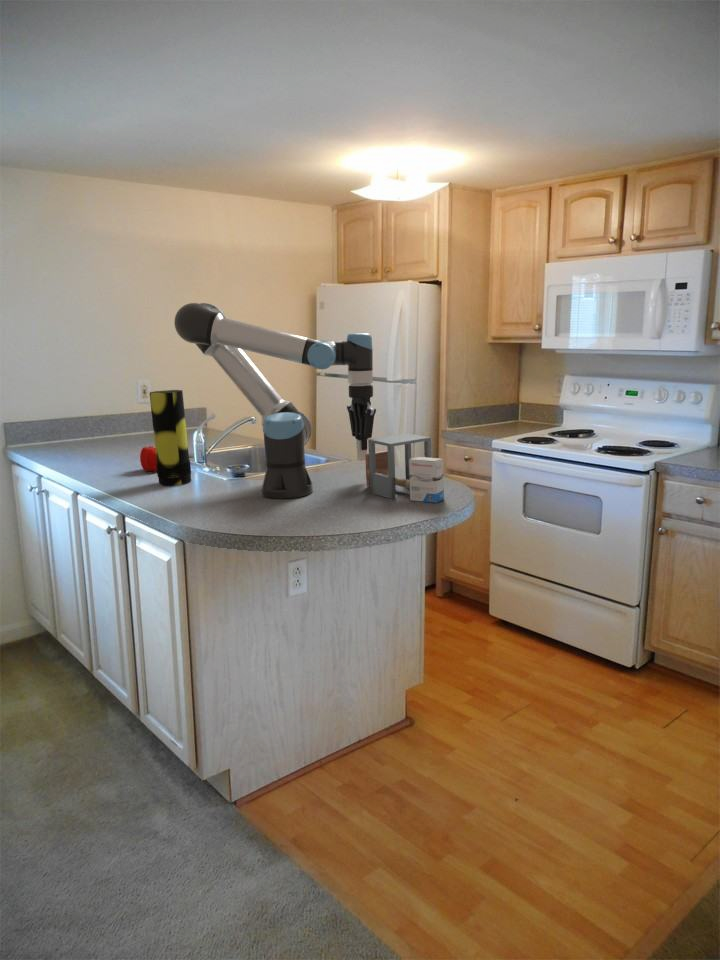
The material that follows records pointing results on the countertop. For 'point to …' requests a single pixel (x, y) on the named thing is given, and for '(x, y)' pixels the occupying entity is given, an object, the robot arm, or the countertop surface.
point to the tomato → (148, 459)
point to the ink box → (426, 479)
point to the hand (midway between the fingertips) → (362, 459)
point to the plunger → (383, 469)
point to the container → (170, 437)
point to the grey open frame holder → (392, 461)
